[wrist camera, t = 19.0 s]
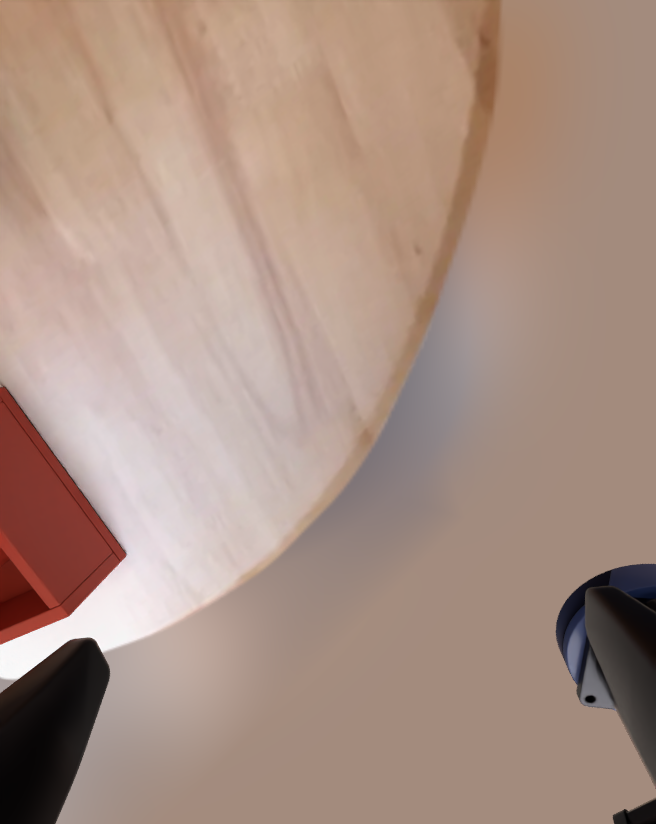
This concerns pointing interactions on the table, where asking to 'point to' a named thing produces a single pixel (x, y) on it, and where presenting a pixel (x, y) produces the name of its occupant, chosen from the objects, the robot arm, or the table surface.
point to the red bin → (44, 532)
